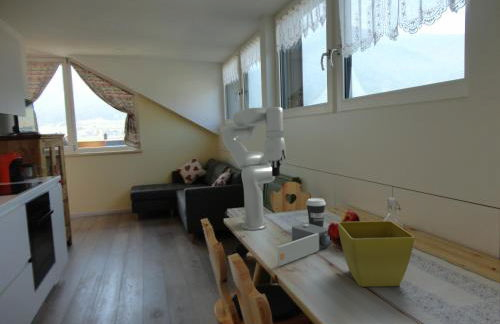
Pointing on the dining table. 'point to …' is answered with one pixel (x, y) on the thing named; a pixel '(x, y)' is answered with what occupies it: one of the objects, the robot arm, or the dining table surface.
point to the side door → (298, 249)
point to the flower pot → (376, 251)
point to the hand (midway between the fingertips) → (275, 175)
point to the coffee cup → (316, 211)
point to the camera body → (311, 233)
